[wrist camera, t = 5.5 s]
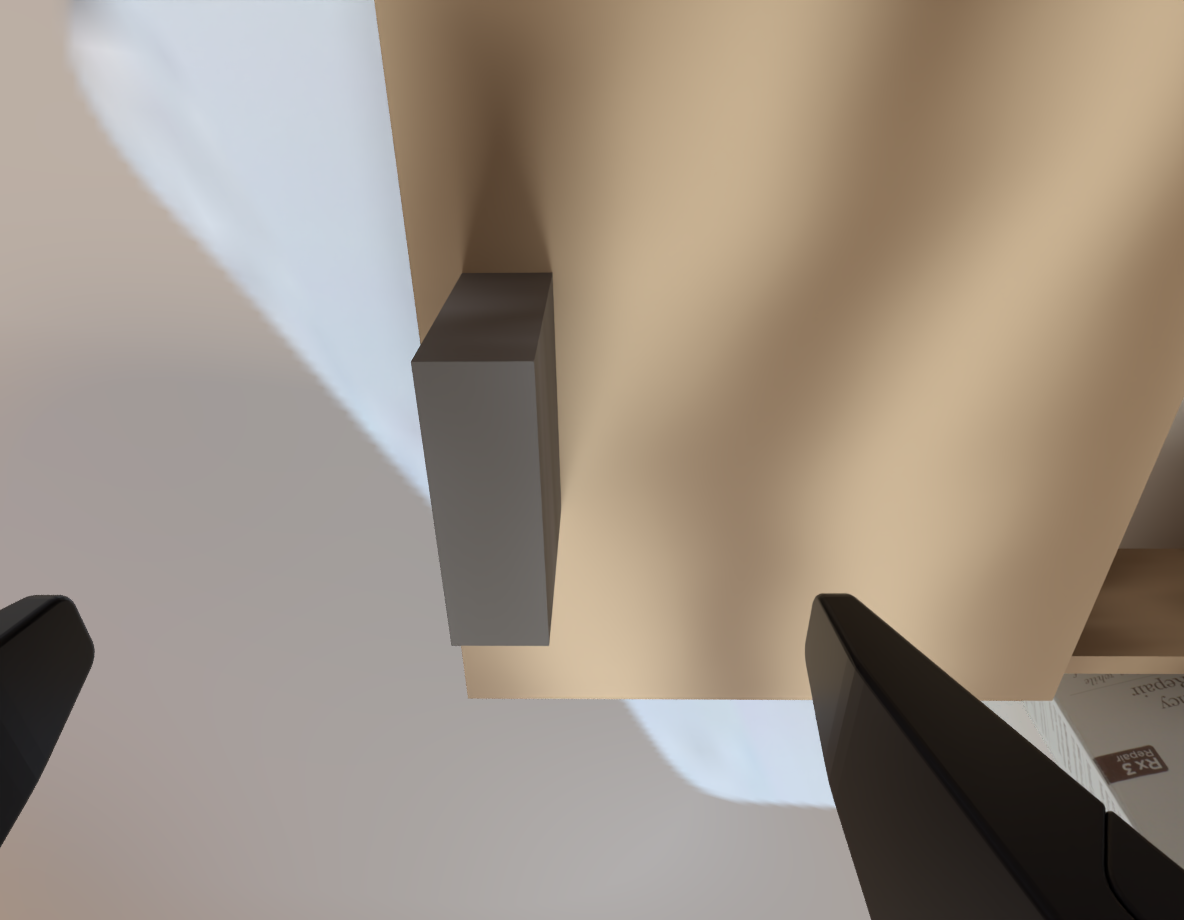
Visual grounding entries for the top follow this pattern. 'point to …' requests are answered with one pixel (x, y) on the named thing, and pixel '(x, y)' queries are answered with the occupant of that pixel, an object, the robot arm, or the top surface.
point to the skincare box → (1123, 747)
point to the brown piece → (1143, 581)
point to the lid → (785, 326)
